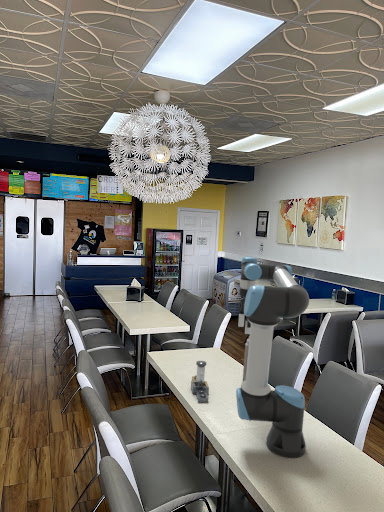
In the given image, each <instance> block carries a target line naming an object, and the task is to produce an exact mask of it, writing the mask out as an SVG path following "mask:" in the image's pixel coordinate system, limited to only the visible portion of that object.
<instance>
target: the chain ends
mask: <svg viewBox="0 0 384 512" xmlns="http://www.w3.org/2000/svg"><path fill="white" fill-rule="evenodd" d="M196 379H197V374H196V375H194V376H191V381H190V389H191V393H192V395H195V397H196V399H197V402H198V403H209V399H210V397H209V392H210V387H209V384H208V381H207V380H204V386H196Z"/></svg>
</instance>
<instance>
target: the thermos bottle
mask: <svg viewBox="0 0 384 512" xmlns="http://www.w3.org/2000/svg"><path fill="white" fill-rule="evenodd" d="M249 339H250V334H248V338H247V339H246V343H245V344H244V345H245V347H244V357H243V358H244V360H243V368H242V369H243V370H242V371H243V374H242V382H243V381H245V380H246V370H247V359H248V349H249Z"/></svg>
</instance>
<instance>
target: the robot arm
mask: <svg viewBox="0 0 384 512" xmlns="http://www.w3.org/2000/svg"><path fill="white" fill-rule="evenodd" d="M240 264H241V270H240V280H239V282H240V283H239V294H238V295H239V296H240V301H239V306H238V309H237V312H238V313H239V314H238V324H237V325H238V328H240V327H241V328H245V329H244V334H245V335H249V334H250V339H249V338H248V339H249V349H248V359H247V370H246V380H245V381H243V380H242V382H241V384H240V387H237V388H236V391H235V395H236V396H235V397H236V409H237V415H238V417H239V418H240V419H241V420H243V421H244V420H245V421H248V422H251V421H253V422H270V423H272V424H271V427H270V429H269V432H268V434H267V436H266V442H265V443H266V447H267V449H269V451H271V452H272V453H273V454H276V455H278V456H281V457H285V458H291V459H292V458H299V457H302V456H303V455H304V454H305V453H306V439H305V438H304V433H303V432H304V431H303V428H304V417H305V408H306V400H305V399H306V398H305V395H304V394H303V393H302V392H301V391H300V390H298V389H297V388H295V387H291V386H288V385H283V384H282V385H281V384H280V385H276V386H275V388H274V390H272V387H271V386H270V384H268V382H269V375H270V364H271V357H272V355H271V354H272V347H273V346H272V345H273V337H274V327H276V326H278V324H279V321H280V319H294V318H297V317H300V316H301V315H303V313H304V312H306V310H307V309H308V306H309V304H310V297H309V293H308V292H307V290H306V288H304V287H303V286H302V285H299V284H298V283H297V282H296V280H295V279H294V277H293V268H292V266H290V265H285V264H268V263H258V258H256V257H251V256H250V257H249V256H244V257H242V259H241V263H240ZM257 280H259V281H260V280H261V281H274V284H275V285H276V286H275V285H274V286H273V285H264V284H262V285H257ZM244 326H245V327H244Z"/></svg>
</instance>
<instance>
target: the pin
mask: <svg viewBox="0 0 384 512" xmlns="http://www.w3.org/2000/svg"><path fill="white" fill-rule="evenodd" d="M196 365H197V367H196V368H197V369H196V375H197V379H196V386H204V381H205V374H206V373H205V372H206V366H207V362H206V361H204V360H198V361H197V360H196Z"/></svg>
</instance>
